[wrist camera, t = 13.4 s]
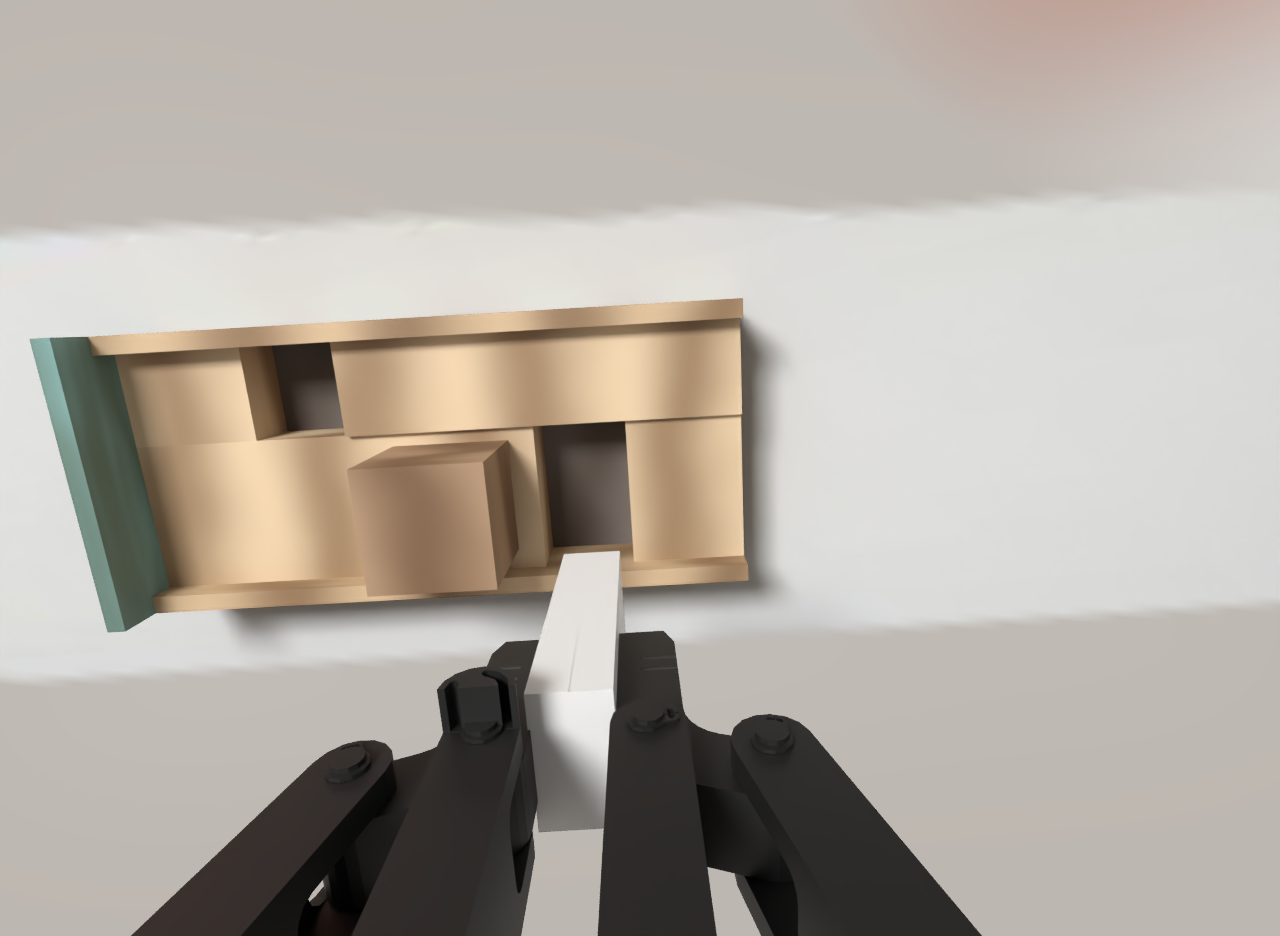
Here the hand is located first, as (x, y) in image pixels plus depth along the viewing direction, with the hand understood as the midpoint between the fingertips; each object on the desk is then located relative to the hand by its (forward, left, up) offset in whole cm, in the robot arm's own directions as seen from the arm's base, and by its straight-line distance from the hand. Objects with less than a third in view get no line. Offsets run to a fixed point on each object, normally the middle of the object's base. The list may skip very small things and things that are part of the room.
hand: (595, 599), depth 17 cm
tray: (+8, -1, -14) cm, 16 cm away
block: (+7, +1, -11) cm, 13 cm away
